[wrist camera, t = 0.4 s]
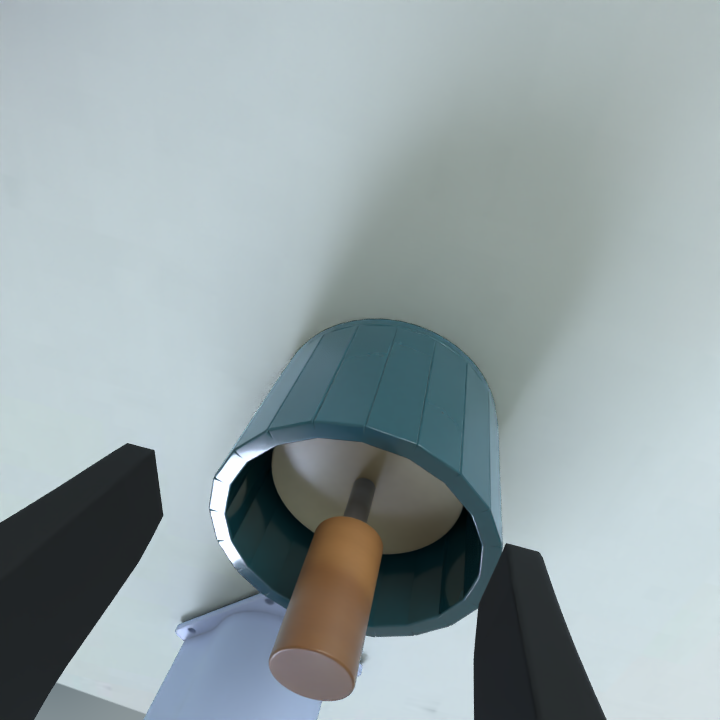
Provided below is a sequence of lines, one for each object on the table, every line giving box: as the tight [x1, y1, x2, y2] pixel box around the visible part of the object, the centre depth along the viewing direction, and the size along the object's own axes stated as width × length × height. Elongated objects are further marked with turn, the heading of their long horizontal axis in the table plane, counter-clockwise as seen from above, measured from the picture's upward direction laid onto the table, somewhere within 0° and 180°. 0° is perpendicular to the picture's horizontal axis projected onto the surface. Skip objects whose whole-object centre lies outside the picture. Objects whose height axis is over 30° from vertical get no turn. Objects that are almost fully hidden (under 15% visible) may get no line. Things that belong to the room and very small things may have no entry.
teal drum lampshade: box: [209, 319, 503, 637], centre depth 19 cm, size 9×9×7 cm
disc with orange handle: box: [269, 438, 463, 701], centre depth 17 cm, size 7×7×9 cm
